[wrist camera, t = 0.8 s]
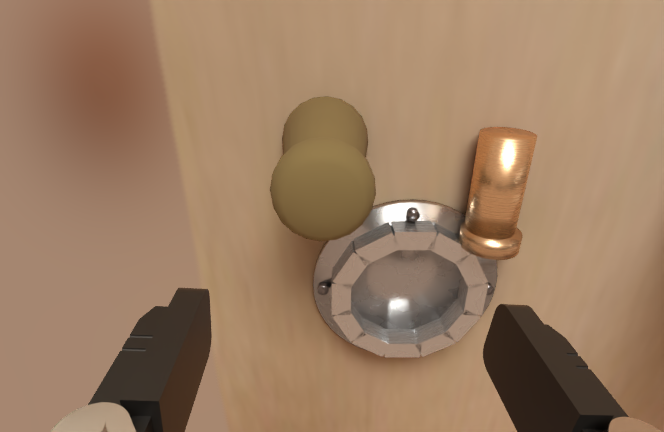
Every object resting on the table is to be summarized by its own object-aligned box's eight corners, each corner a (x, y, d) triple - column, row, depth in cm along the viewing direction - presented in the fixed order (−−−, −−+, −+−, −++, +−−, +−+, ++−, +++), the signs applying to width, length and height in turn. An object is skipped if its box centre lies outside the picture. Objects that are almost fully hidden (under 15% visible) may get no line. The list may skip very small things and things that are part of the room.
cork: (331, 196, 30) (332, 281, 20) (265, 146, 29) (230, 213, 19) (385, 134, 28) (416, 195, 18) (317, 77, 26) (310, 110, 17)
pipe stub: (467, 127, 28) (489, 143, 24) (527, 127, 28) (558, 143, 24) (451, 231, 32) (468, 259, 28) (505, 231, 32) (529, 259, 28)
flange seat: (510, 199, 30) (524, 213, 28) (478, 350, 37) (487, 370, 35) (312, 199, 30) (310, 212, 28) (314, 349, 37) (313, 370, 35)
